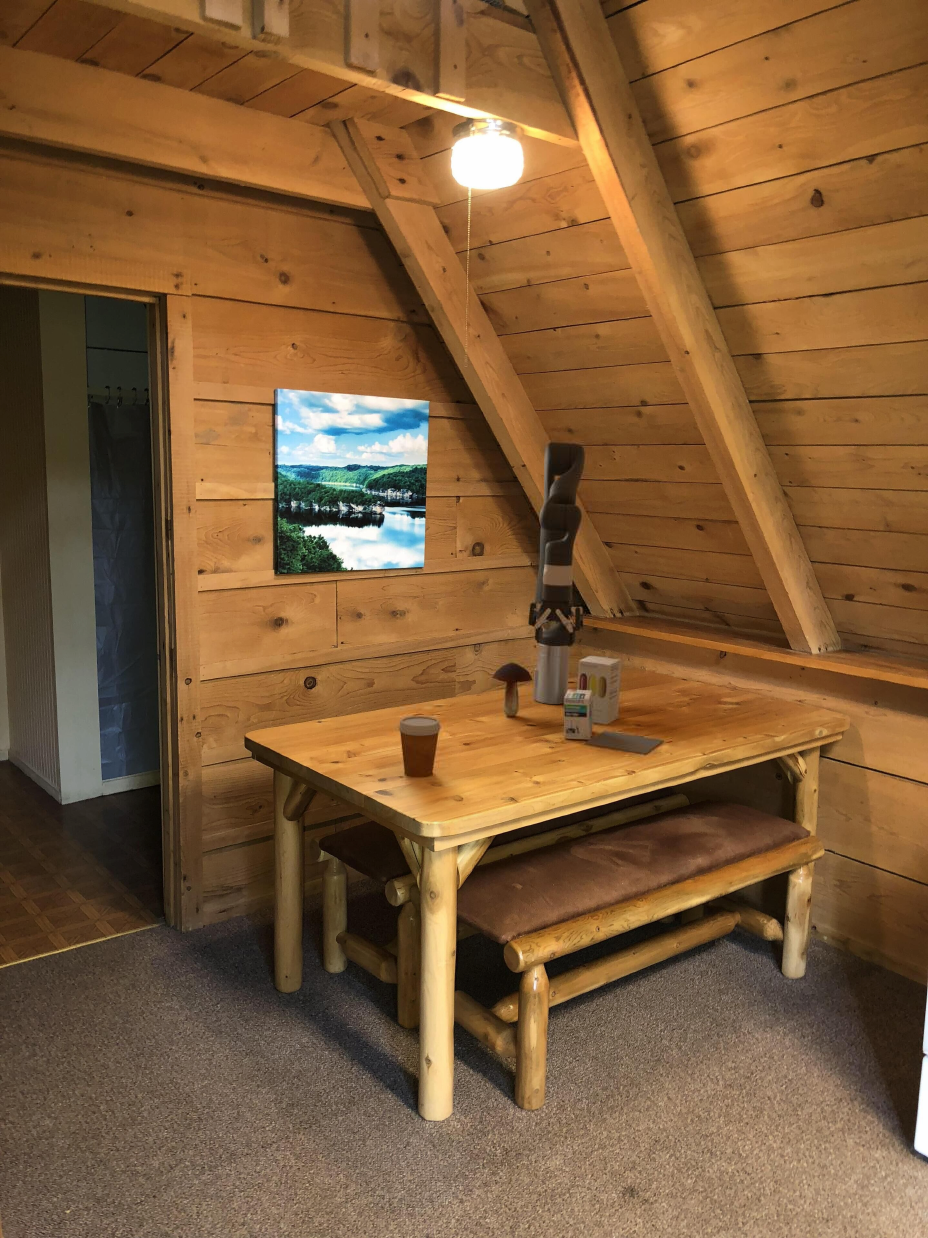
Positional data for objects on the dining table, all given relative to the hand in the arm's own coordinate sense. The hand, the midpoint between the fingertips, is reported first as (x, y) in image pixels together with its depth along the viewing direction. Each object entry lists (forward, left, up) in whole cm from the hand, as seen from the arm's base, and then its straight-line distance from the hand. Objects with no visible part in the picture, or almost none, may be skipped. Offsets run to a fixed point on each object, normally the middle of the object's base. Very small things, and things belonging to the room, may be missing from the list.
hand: (554, 644), depth 257 cm
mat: (+20, 0, -23) cm, 31 cm away
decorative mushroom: (-15, +7, -23) cm, 29 cm away
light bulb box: (+8, 0, -23) cm, 24 cm away
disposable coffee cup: (-10, -50, -23) cm, 56 cm away
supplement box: (+6, +18, -23) cm, 30 cm away
